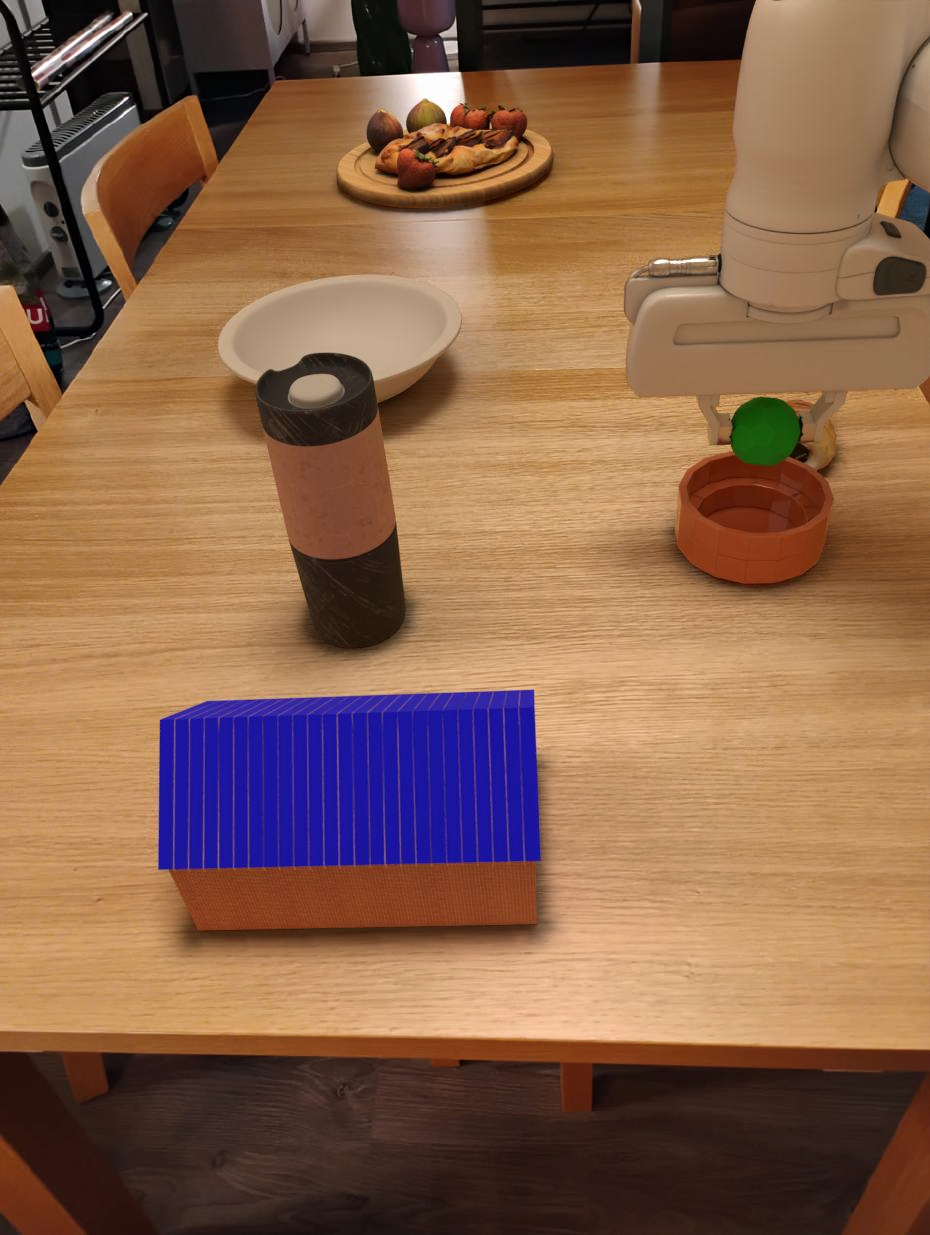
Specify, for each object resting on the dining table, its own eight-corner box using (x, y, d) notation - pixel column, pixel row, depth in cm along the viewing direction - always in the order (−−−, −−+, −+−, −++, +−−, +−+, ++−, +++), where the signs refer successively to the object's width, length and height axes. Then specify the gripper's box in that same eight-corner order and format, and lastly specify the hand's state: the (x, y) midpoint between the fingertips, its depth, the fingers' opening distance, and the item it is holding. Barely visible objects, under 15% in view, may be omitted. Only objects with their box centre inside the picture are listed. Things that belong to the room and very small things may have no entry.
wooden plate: (482, 226, 130) (478, 160, 125) (293, 196, 144) (282, 135, 138) (591, 149, 150) (591, 89, 144) (415, 128, 163) (410, 73, 158)
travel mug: (397, 654, 72) (358, 413, 59) (297, 648, 73) (235, 411, 60) (418, 585, 78) (385, 351, 64) (324, 580, 79) (273, 350, 65)
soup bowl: (263, 476, 91) (247, 413, 86) (211, 364, 107) (196, 306, 103) (504, 409, 96) (500, 346, 92) (419, 313, 113) (413, 256, 109)
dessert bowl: (806, 499, 82) (816, 448, 79) (835, 588, 74) (847, 535, 71) (669, 502, 83) (673, 452, 80) (682, 590, 75) (687, 538, 72)
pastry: (762, 414, 92) (767, 377, 90) (838, 423, 90) (846, 385, 88) (748, 470, 86) (754, 432, 83) (830, 481, 84) (839, 442, 81)
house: (232, 769, 65) (185, 641, 57) (537, 760, 64) (531, 628, 56) (191, 935, 56) (129, 811, 49) (543, 929, 55) (538, 800, 47)
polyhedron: (771, 435, 75) (780, 379, 72) (808, 468, 72) (819, 411, 69) (712, 450, 75) (719, 394, 71) (746, 485, 71) (754, 427, 68)
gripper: (628, 281, 61) (620, 468, 71) (973, 266, 60) (919, 460, 69) (622, 240, 66) (616, 421, 75) (942, 225, 64) (895, 412, 73)
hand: (763, 439), depth 72 cm, fingers closed on polyhedron, 5 cm apart
